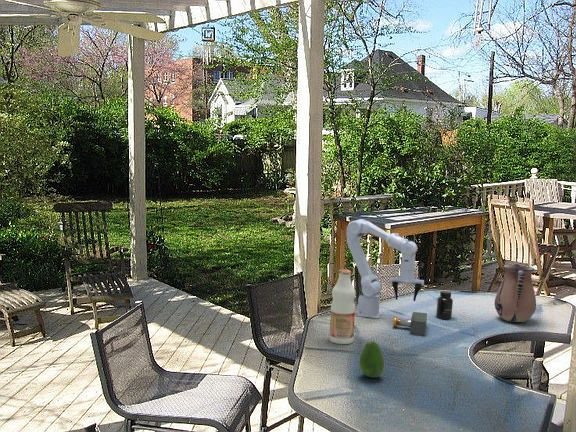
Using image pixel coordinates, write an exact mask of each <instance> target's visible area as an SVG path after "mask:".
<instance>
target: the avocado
mask: <svg viewBox="0 0 576 432" xmlns="http://www.w3.org/2000/svg"><path fill="white" fill-rule="evenodd" d="M384 367H385V360H384V357H383V353H382V351H381V348H380V346H379V344H378V343H377V342H375V341H372V340H371V341H368V342H366V343H365V345H364V348H363V349H362V352H361V354H360V357H359V368H360V370H361V373H362V374H363V375H364V376H366V377H367V378H374V379H375V378H378V377H379V376H381V375H382V373H383V371H384Z"/></svg>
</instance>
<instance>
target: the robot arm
mask: <svg viewBox="0 0 576 432" xmlns="http://www.w3.org/2000/svg"><path fill="white" fill-rule="evenodd" d="M346 232H347V233H346V244H347V247H348V249H349V251H350V253H351V255H352V259H353V261H354V263H355V265H356V269H358V273H359V275H360V277H361V278H360V284H361V292H362V294H360V295H359V296H358V301H357V317H361V318H362V317H363V318H370V319H379V317H380V316H381V312H380V299H381V298H380V296H381V295H380V292H381V291H382V290H383V285H382V283H381V282H380V281H379V280H378V278H377V276H376V275H375V274H374V273H373V272H372V269H371V267H370V265H369V262H368V259H367V257H366V255H365V253H364V250H363V248H362V247H363V246H362V244H361V242H360V241H361V239H362V237H363V235H364V234H368V233H369V234H372V235H374V236H376V237H377V238H380V239H382V240H384V241H385V243H386V244H387V245H388V246H389V247H391V248H393V249H395V250H397V251H399V252H400V253H401V261H400V262H401V265H400V266H401V267H400V277H389V284H390V283H391V285H392V288H393V291H394V295H395V300H397V301H398V292H399V291H398V290H399V289H398V288H399V284H404V285H405V284H406V285H407V284H408V285H414V292H413V302H416V298H417V296H418V294H419V292H420V290H421V287H422V286H424V285H425V280H424V279H418V278H417V279H416V278H414V276H415V263H416V253H417V252H418V245H417V244H416V242H415V241H413V240H409V239H408V238H404V237H402V236H400V235H399V233H397V232H395V233H393V232H392V233H389V232H388V231H387V232H386V231H385V230H384V229H382V228H381V227H379V226H377V225H375V224H373V223H372V222H371V221H368V220H366V219H364V218H360V219H357V220H351V221H350V222H349V223H348V225H347V227H346Z"/></svg>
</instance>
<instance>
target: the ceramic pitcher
mask: <svg viewBox="0 0 576 432" xmlns="http://www.w3.org/2000/svg"><path fill="white" fill-rule="evenodd" d="M503 268H504V269H505V273H504V275H503V276H504V277H503V278H502V281H501V284H500V286H499V288H498V290H497V292H496V295H495V298H494V308H495V311H496V313H497V315H498V316H499V317H500V318H501V319H502V320H504V321H506V322H508V321H511V322H510V323H513V322H522V323H525V322H527V321H529V319H531V318H532V317H533V315H534V314H535V312H536V311H537V309H536V308H537V300H536V293H535V288H534V284H533V279H532V274H533V272H534V271H535V269H536V268H534V267H532V266H529V265H528V266H527V265H524V266H522V265H520V264H517V263H516V264H515V263H514V264H504V265H503Z"/></svg>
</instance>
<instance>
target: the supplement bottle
mask: <svg viewBox="0 0 576 432" xmlns="http://www.w3.org/2000/svg"><path fill="white" fill-rule="evenodd" d="M451 297H452V291H448V290H441V291H440V292H439V296H438V297H437V301H436V313H435V317H436V318H437V319H439V320H444V321H446V320H451V319H452V316H453V315H452V313H453V305H454V304H453V301H454V300H453V298H451Z"/></svg>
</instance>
